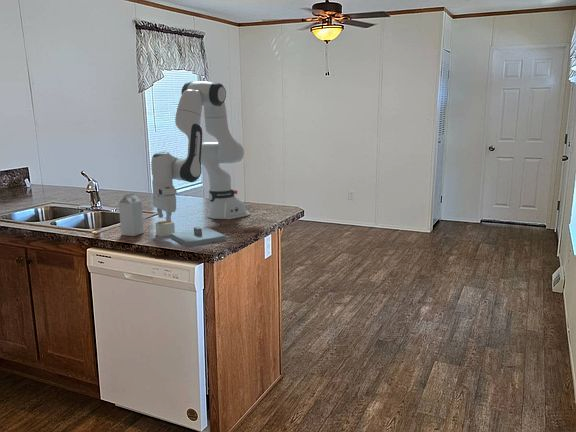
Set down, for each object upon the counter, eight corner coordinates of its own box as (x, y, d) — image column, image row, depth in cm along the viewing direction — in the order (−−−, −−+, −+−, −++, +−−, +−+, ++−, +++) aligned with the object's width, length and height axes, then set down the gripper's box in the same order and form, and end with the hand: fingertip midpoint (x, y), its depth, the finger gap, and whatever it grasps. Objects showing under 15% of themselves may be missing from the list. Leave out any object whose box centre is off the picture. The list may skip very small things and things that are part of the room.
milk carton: (121, 235, 231) (117, 194, 227) (131, 231, 237) (128, 191, 233) (134, 236, 228) (130, 194, 224) (143, 232, 235) (140, 192, 231)
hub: (208, 232, 235) (207, 221, 234) (225, 240, 220) (225, 229, 219) (171, 237, 225) (170, 226, 224) (187, 246, 211) (186, 235, 210)
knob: (156, 234, 231) (155, 221, 230) (170, 232, 235) (170, 219, 234) (160, 236, 227) (159, 223, 226) (174, 234, 231) (174, 221, 230)
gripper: (148, 186, 233) (149, 216, 236) (164, 192, 216) (165, 223, 219) (161, 185, 236) (162, 215, 239) (178, 190, 220) (179, 222, 222)
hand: (164, 219), depth 229 cm, fingers open, 8 cm apart
